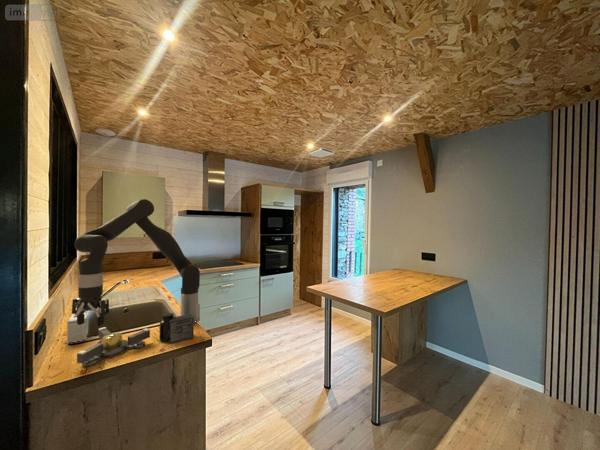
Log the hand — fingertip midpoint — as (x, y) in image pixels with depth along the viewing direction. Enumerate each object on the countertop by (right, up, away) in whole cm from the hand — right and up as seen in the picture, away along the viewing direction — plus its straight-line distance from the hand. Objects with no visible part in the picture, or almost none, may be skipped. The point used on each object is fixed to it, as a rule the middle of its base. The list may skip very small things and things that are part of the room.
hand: (90, 324), depth 98 cm
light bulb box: (-24, -16, +21) cm, 36 cm away
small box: (+26, -16, +22) cm, 37 cm away
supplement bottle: (+20, -16, +21) cm, 33 cm away
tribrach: (-1, -15, +10) cm, 18 cm away
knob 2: (+10, -14, +14) cm, 22 cm away
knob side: (-7, -14, +16) cm, 22 cm away
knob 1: (0, -14, 0) cm, 14 cm away
